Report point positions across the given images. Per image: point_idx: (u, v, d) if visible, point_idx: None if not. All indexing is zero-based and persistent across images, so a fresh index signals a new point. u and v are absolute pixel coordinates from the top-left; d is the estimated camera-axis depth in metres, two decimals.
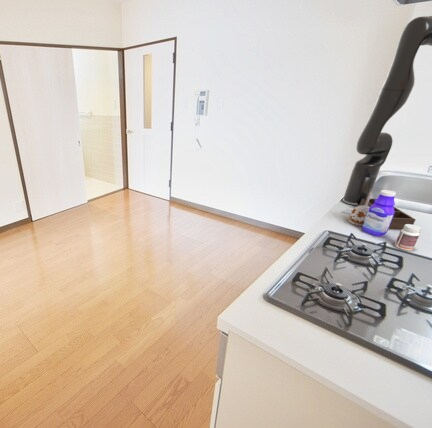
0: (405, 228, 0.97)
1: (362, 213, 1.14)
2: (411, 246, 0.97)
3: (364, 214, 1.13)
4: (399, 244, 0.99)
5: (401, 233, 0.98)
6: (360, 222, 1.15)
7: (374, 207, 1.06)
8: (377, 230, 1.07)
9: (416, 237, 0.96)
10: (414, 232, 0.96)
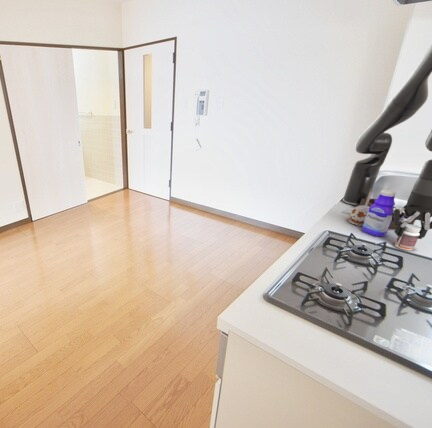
0: (405, 228, 0.97)
1: (362, 213, 1.14)
2: (411, 246, 0.97)
3: (364, 214, 1.13)
4: (399, 244, 0.99)
5: None
6: (360, 222, 1.15)
7: (374, 207, 1.06)
8: (377, 230, 1.07)
9: (416, 237, 0.96)
10: (414, 232, 0.96)
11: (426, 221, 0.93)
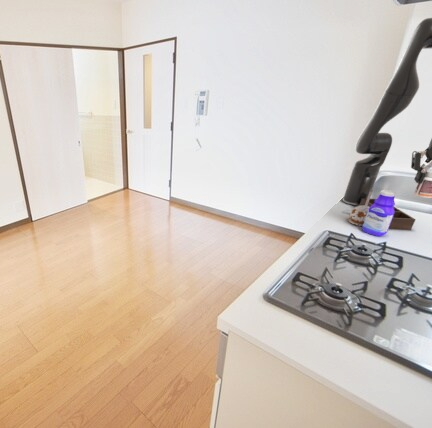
0: (426, 174, 0.91)
1: (362, 213, 1.14)
2: None
3: (364, 214, 1.13)
4: (419, 192, 0.93)
5: None
6: (360, 222, 1.15)
7: (374, 207, 1.06)
8: (377, 230, 1.07)
9: None
10: None
11: None
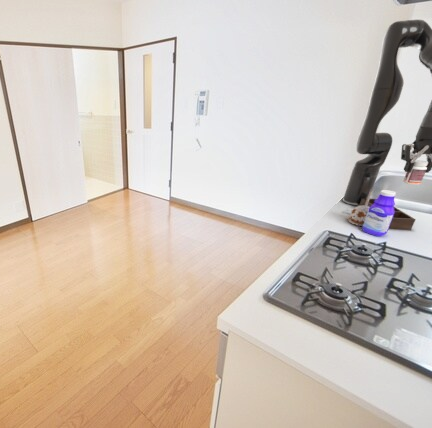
0: (414, 163, 1.03)
1: (362, 213, 1.14)
2: (420, 180, 1.03)
3: (364, 214, 1.13)
4: (409, 179, 1.05)
5: None
6: (360, 222, 1.15)
7: (374, 207, 1.06)
8: (377, 230, 1.07)
9: (424, 171, 1.02)
10: (423, 166, 1.02)
11: None
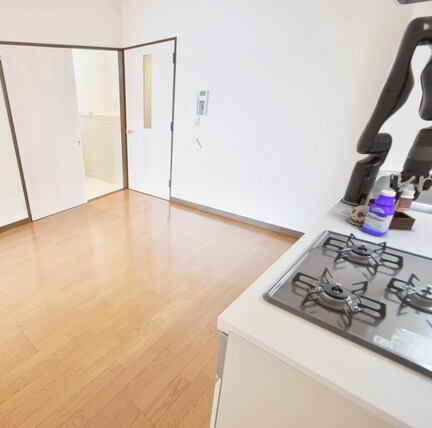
0: (402, 192, 1.08)
1: (362, 213, 1.14)
2: (407, 208, 1.09)
3: (364, 214, 1.13)
4: (397, 207, 1.10)
5: None
6: (360, 222, 1.15)
7: (374, 207, 1.06)
8: (377, 230, 1.07)
9: (412, 199, 1.07)
10: (410, 195, 1.07)
11: (420, 184, 1.05)
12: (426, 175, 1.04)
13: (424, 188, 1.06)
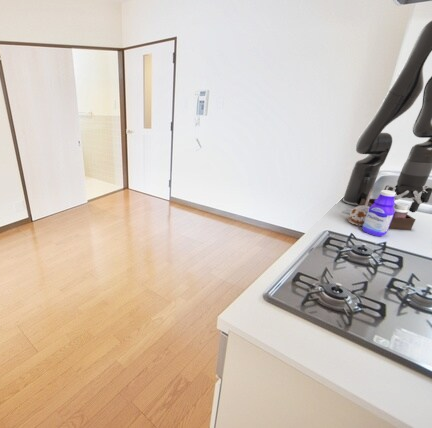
0: (396, 206, 1.11)
1: (362, 213, 1.14)
2: None
3: (364, 214, 1.13)
4: None
5: None
6: (360, 222, 1.15)
7: (374, 207, 1.06)
8: (377, 230, 1.07)
9: (406, 213, 1.10)
10: (404, 209, 1.10)
11: (417, 197, 1.07)
12: (420, 190, 1.06)
13: (423, 200, 1.08)
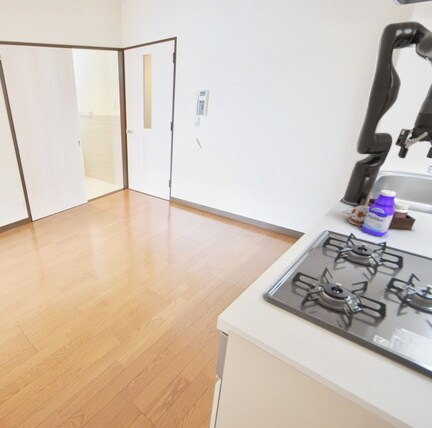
0: (396, 206, 1.11)
1: (362, 213, 1.14)
2: None
3: (364, 214, 1.13)
4: None
5: None
6: (360, 222, 1.15)
7: (374, 207, 1.06)
8: (377, 230, 1.07)
9: (406, 213, 1.10)
10: (404, 209, 1.10)
11: None
12: None
13: None
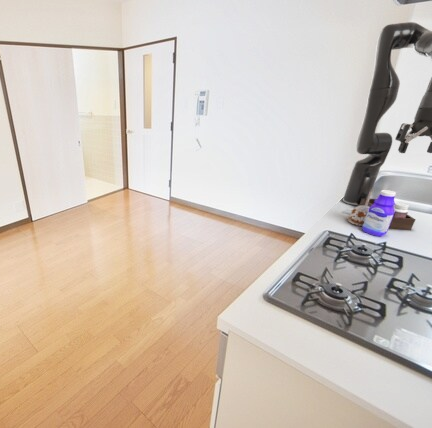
0: (396, 206, 1.11)
1: (362, 213, 1.14)
2: None
3: (364, 214, 1.13)
4: None
5: None
6: (360, 222, 1.15)
7: (374, 207, 1.06)
8: (377, 230, 1.07)
9: (406, 213, 1.10)
10: (404, 209, 1.10)
11: None
12: None
13: None
